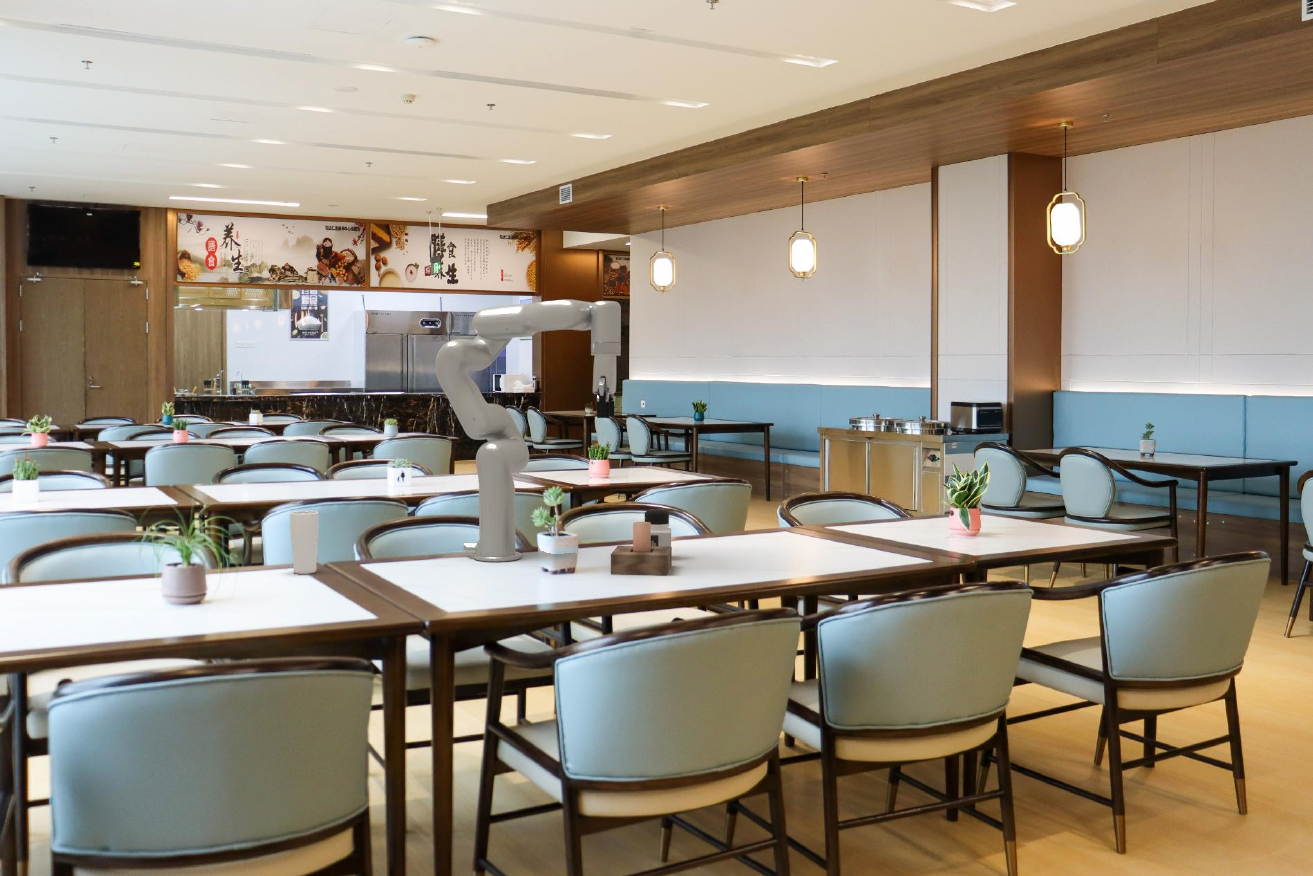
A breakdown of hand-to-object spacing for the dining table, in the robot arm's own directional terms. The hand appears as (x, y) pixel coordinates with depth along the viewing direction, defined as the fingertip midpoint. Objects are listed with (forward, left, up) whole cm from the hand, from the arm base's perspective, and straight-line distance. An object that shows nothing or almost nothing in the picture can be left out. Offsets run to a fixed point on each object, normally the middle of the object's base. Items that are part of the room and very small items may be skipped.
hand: (605, 417), depth 296 cm
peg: (+10, -5, -38) cm, 40 cm away
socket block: (+10, -5, -38) cm, 40 cm away
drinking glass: (-72, -19, -38) cm, 84 cm away
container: (+12, +14, -38) cm, 43 cm away
